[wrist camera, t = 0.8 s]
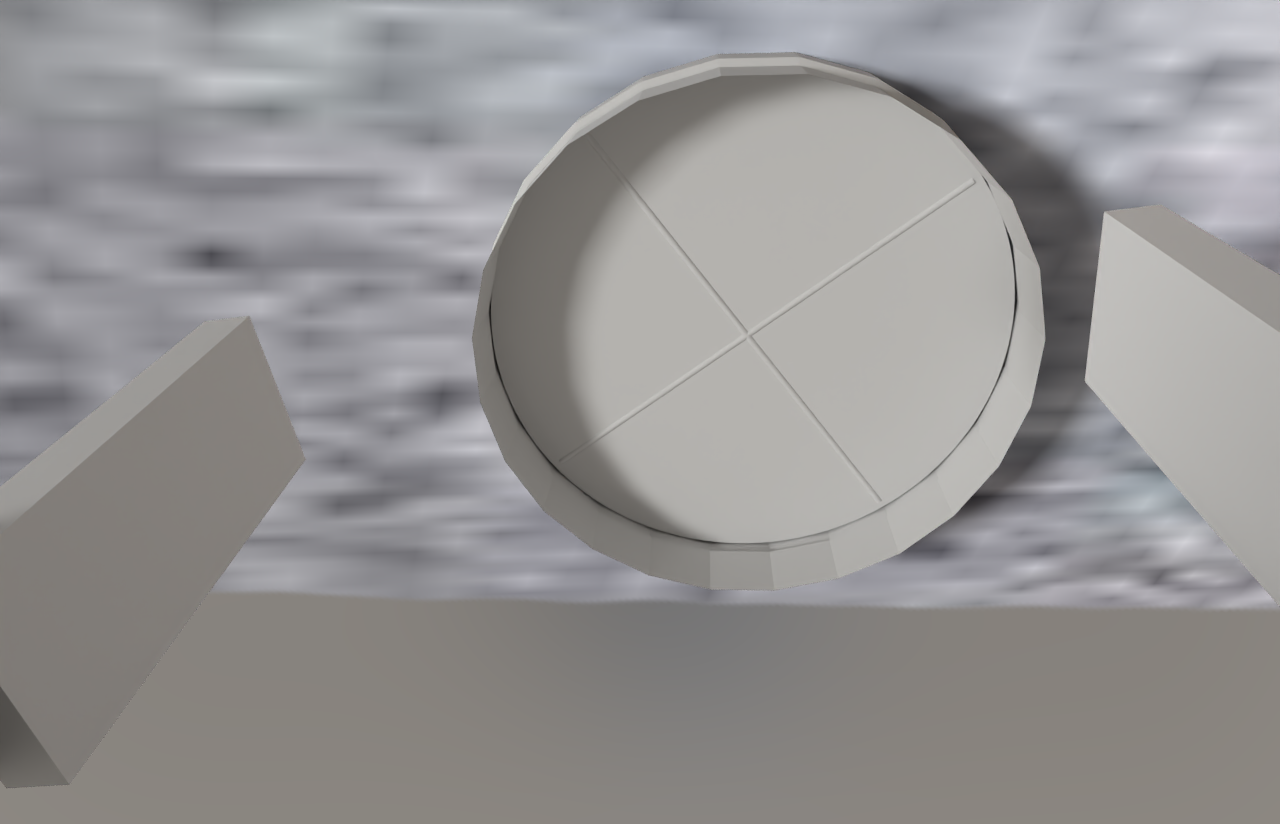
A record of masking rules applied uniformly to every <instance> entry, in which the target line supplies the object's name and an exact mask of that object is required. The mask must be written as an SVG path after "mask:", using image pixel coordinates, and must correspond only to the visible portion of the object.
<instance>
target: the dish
mask: <svg viewBox="0 0 1280 824" xmlns="http://www.w3.org/2000/svg"><path fill="white" fill-rule="evenodd" d="M1045 340H1046V338H1045V325H1044V313H1043V300H1042V287H1041V275H1040V267H1039V265H1038V262H1037V260H1036V257H1035V255H1034V252H1033V250H1032V247H1031V245H1030V242H1029V240H1028V238H1027V235H1026V233H1025V230H1024V228H1023V225H1022V223H1021V220H1020V218H1019V215H1018V213H1017V211H1016V208H1015V206H1014V203H1013V201H1012V199H1011V198H1010V197H1009V195H1008V194H1007V193H1006V192H1005V191H1004V190H1003V188H1002V187H1001V186H1000V185H999V184H998V183H997V182H996V180H995V179H994V178H993V177H992V176H991V175H990V173H989V172H988V171H987V170H986V169H985V168H984V166H983V165H982V164H981V163H980V162H979V161H978V159H977V158H976V157H975V156H974V155H973V154H972V152H971V151H970V150H969V149H968V148H967V147H966V145H965V144H964V143H963V142H962V141H961V140H960V139H959V137H958V136H957V135H956V134H955V133H954V132H953V130H952V129H951V128H950V127H949V126H948V125H947V123H946V122H945V121H944V120H943V119H941V118H940V117H938V116H937V115H935V114H934V113H933V112H931V111H930V110H928V109H926V108H925V107H923V106H922V105H920V104H918V103H917V102H915V101H914V100H912V99H910V98H909V97H907V96H906V95H904V94H902V93H901V92H899V91H898V90H896V89H894V88H893V87H891V86H890V85H888V84H886V83H885V82H883V81H882V80H880V79H879V78H877V77H875V76H874V75H872V74H871V73H869V72H865V71H862V70H858V69H854V68H851V67H847V66H843V65H840V64H836V63H833V62H829V61H825V60H822V59H818V58H814V57H811V56H807V55H803V54H800V53H796V52H785V53H741V54H716V55H713V56H710V57H706V58H703V59H700V60H696V61H693V62H690V63H687V64H683V65H680V66H677V67H673V68H670V69H667V70H664V71H660V72H657V73H654V74H650V75H647V76H644V77H642V78H641V79H639V80H638V81H636V82H634V83H633V84H631V85H630V86H628V87H626V88H625V89H623V90H622V91H620V92H619V93H617V94H615V95H614V96H612V97H611V98H609V99H608V100H606V101H604V102H603V103H601V104H600V105H598V106H597V107H595V108H593V109H592V110H590V111H589V112H587V113H586V114H584V115H582V116H581V117H580V118H579V119H578V120H577V121H576V122H575V123H574V124H573V125H572V126H571V127H570V128H569V130H568V131H567V132H566V133H565V134H564V135H563V136H562V138H561V139H560V140H559V141H558V142H557V143H556V144H555V146H554V147H553V148H552V149H551V150H550V151H549V152H548V153H547V155H546V156H545V157H544V158H543V159H542V160H541V161H540V163H539V164H538V165H537V166H536V167H535V168H534V169H533V170H532V172H531V173H530V174H529V175H528V176H527V177H526V178H525V180H524V181H523V183H522V185H521V187H520V189H519V191H518V194H517V196H516V198H515V200H514V202H513V204H512V206H511V208H510V210H509V212H508V215H507V217H506V219H505V221H504V223H503V225H502V227H501V229H500V231H499V233H498V235H497V238H496V240H495V242H494V244H493V250H492V253H491V255H490V257H489V259H488V261H487V263H486V266H485V268H484V270H483V275H482V281H481V287H480V293H479V299H478V305H477V311H476V317H475V323H474V330H473V336H472V341H473V349H474V357H475V364H476V372H477V380H478V388H479V395H480V403H481V405H482V408H483V410H484V412H485V415H486V417H487V419H488V422H489V424H490V427H491V429H492V431H493V434H494V436H495V438H496V441H497V443H498V445H499V448H500V450H501V452H502V455H503V457H504V460H505V462H506V463H507V464H508V466H509V467H510V468H511V469H512V471H513V472H514V473H515V475H516V476H517V477H518V478H519V480H520V481H521V482H522V484H523V485H524V486H525V487H526V489H527V490H528V491H529V493H530V494H531V495H532V497H533V498H534V499H535V500H536V502H537V503H538V504H539V506H540V507H541V508H542V509H543V511H545V512H546V513H547V514H548V515H550V516H551V517H552V518H554V519H555V520H556V521H557V522H559V523H560V524H561V525H563V526H564V527H565V528H566V529H568V530H569V531H570V532H572V533H573V534H574V535H575V536H577V537H578V538H579V539H580V540H582V541H583V542H584V543H586V544H587V545H588V546H589V547H591V548H592V549H594V550H596V551H598V552H600V553H602V554H605V555H607V556H609V557H611V558H613V559H615V560H617V561H620V562H622V563H624V564H626V565H628V566H630V567H632V568H634V569H637V570H639V571H641V572H643V573H645V574H647V575H650V576H654V577H658V578H663V579H667V580H671V581H676V582H680V583H684V584H689V585H693V586H697V587H702V588H706V589H710V590H770V591H775V590H780V589H785V588H791V587H796V586H802V585H807V584H812V583H818V582H823V581H829V580H834V579H839V578H841V577H844V576H846V575H849V574H851V573H853V572H856V571H858V570H861V569H863V568H866V567H868V566H871V565H873V564H876V563H878V562H880V561H883V560H885V559H888V558H890V557H893V556H895V555H898V554H900V553H901V552H903V551H904V550H905V549H907V548H908V547H910V546H911V545H913V544H914V543H916V542H917V541H918V540H920V539H921V538H923V537H924V536H926V535H927V534H929V533H930V532H931V531H933V530H934V529H936V528H937V527H939V526H940V525H942V524H943V523H944V522H946V521H947V520H949V519H950V518H952V517H953V516H954V515H955V514H956V513H957V512H958V511H959V510H960V509H961V507H962V506H963V505H964V504H965V503H966V502H967V501H968V500H969V499H970V498H971V497H972V495H973V494H974V493H975V492H976V491H977V490H978V489H979V488H980V487H981V486H982V484H983V483H984V482H985V481H986V480H987V479H988V478H989V477H990V476H991V475H992V473H993V472H994V471H995V470H996V469H997V468H998V467H999V465H1000V463H1001V462H1002V460H1003V458H1004V456H1005V454H1006V452H1007V450H1008V449H1009V447H1010V445H1011V443H1012V441H1013V439H1014V437H1015V435H1016V434H1017V432H1018V430H1019V428H1020V426H1021V424H1022V422H1023V421H1024V419H1025V417H1026V415H1027V413H1028V411H1029V409H1030V408H1031V404H1032V400H1033V395H1034V391H1035V386H1036V381H1037V377H1038V372H1039V367H1040V363H1041V358H1042V353H1043V349H1044V344H1045Z"/></svg>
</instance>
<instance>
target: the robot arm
mask: <svg viewBox="0 0 1280 824" xmlns="http://www.w3.org/2000/svg"><path fill="white" fill-rule="evenodd" d="M1085 382H1086V383H1087V384H1088V386H1089V387H1090V388H1091V389H1092V390H1093V391H1094V393H1095V394H1096V395H1097V396H1098V397H1099V398H1100V399H1101V401H1102V402H1103V403H1104V404H1105V405H1106V406H1107V408H1108V409H1109V410H1110V411H1111V412H1112V413H1113V415H1114V416H1115V417H1116V418H1117V419H1118V420H1119V421H1120V423H1121V424H1122V425H1123V426H1124V427H1125V428H1126V430H1127V431H1128V432H1129V433H1130V434H1131V435H1132V437H1133V438H1134V439H1135V440H1136V441H1137V442H1138V443H1139V445H1140V446H1141V447H1142V448H1143V449H1144V450H1145V452H1146V453H1147V454H1148V455H1149V456H1150V457H1151V458H1152V460H1153V461H1154V462H1155V463H1156V464H1157V465H1158V467H1159V468H1160V469H1161V470H1162V471H1163V472H1164V474H1165V475H1166V476H1167V477H1168V478H1169V479H1170V480H1171V482H1172V483H1173V484H1174V485H1175V486H1176V487H1177V489H1178V490H1179V491H1180V492H1181V493H1182V494H1183V495H1184V497H1185V498H1186V499H1187V500H1188V501H1189V502H1190V504H1191V505H1192V506H1193V507H1194V508H1195V509H1196V511H1197V512H1198V513H1199V514H1200V515H1201V516H1202V517H1203V519H1204V520H1205V521H1206V522H1207V523H1208V524H1209V526H1210V527H1211V528H1212V529H1213V530H1214V531H1215V532H1216V534H1217V535H1218V536H1219V537H1220V538H1221V539H1222V541H1223V542H1224V543H1225V544H1226V545H1227V546H1228V548H1229V549H1230V550H1231V551H1232V552H1233V553H1234V554H1235V556H1236V557H1237V558H1238V559H1239V560H1240V561H1241V563H1242V564H1243V565H1244V566H1245V567H1246V568H1247V569H1248V571H1249V572H1250V573H1251V574H1252V575H1253V576H1254V578H1255V579H1256V580H1257V581H1258V582H1259V583H1260V585H1261V586H1262V587H1263V588H1264V589H1265V590H1266V591H1267V593H1268V594H1269V595H1270V596H1271V597H1272V598H1273V600H1274V601H1275V602H1276V603H1277V604H1278V605H1279V606H1280V275H1279V274H1277V273H1275V272H1274V271H1272V270H1270V269H1268V268H1267V267H1265V266H1263V265H1262V264H1260V263H1258V262H1257V261H1255V260H1253V259H1252V258H1250V257H1248V256H1247V255H1245V254H1243V253H1241V252H1240V251H1238V250H1236V249H1235V248H1233V247H1231V246H1230V245H1228V244H1226V243H1225V242H1223V241H1221V240H1219V239H1218V238H1216V237H1214V236H1213V235H1211V234H1209V233H1208V232H1206V231H1204V230H1203V229H1201V228H1199V227H1198V226H1196V225H1194V224H1192V223H1191V222H1189V221H1187V220H1186V219H1184V218H1182V217H1181V216H1179V215H1177V214H1176V213H1174V212H1172V211H1170V210H1169V209H1167V208H1165V207H1164V206H1162V205H1154V206H1145V207H1137V208H1129V209H1121V210H1113V211H1104V217H1103V226H1102V235H1101V243H1100V252H1099V261H1098V269H1097V278H1096V287H1095V296H1094V304H1093V313H1092V322H1091V330H1090V339H1089V348H1088V357H1087V365H1086V374H1085ZM305 460H306V459H305V456H304V454H303V451H302V449H301V446H300V444H299V441H298V439H297V436H296V433H295V431H294V428H293V426H292V423H291V421H290V418H289V416H288V413H287V411H286V408H285V406H284V403H283V400H282V398H281V395H280V393H279V390H278V388H277V385H276V383H275V380H274V378H273V375H272V372H271V370H270V367H269V365H268V362H267V360H266V357H265V355H264V352H263V350H262V347H261V344H260V342H259V339H258V337H257V334H256V332H255V329H254V327H253V324H252V322H251V319H250V317H249V316H244V317H236V318H228V319H219V320H211V321H205V322H204V323H202V324H201V325H200V326H199V327H197V328H196V329H195V330H194V331H192V332H191V333H190V334H189V335H187V336H186V337H185V338H184V339H183V340H181V341H180V342H179V343H178V344H176V345H175V346H174V347H173V348H171V349H170V350H169V351H168V352H166V353H165V354H164V355H163V356H162V357H160V358H159V359H158V360H157V361H155V362H154V363H153V364H152V365H150V366H149V367H148V368H147V369H145V370H144V371H143V372H142V373H140V374H139V375H138V376H137V377H136V378H134V379H133V380H132V381H131V382H129V383H128V384H127V385H126V386H124V387H123V388H122V389H121V390H119V391H118V392H117V393H116V394H115V395H113V396H112V397H111V398H110V399H108V400H107V401H106V402H105V403H103V404H102V405H101V406H100V407H98V408H97V409H96V410H95V411H93V412H92V413H91V414H90V415H89V416H87V417H86V418H85V419H84V420H82V421H81V422H80V423H79V424H77V425H76V426H75V427H74V428H72V429H71V430H70V431H69V432H67V433H66V434H65V435H64V436H63V437H61V438H60V439H59V440H58V441H56V442H55V443H54V444H53V445H51V446H50V447H49V448H48V449H46V450H45V451H44V452H43V453H42V454H40V455H39V456H38V457H37V458H35V459H34V460H33V461H32V462H30V463H29V464H28V465H27V466H25V467H24V468H23V469H22V470H20V471H19V472H18V473H17V474H16V475H14V476H13V477H12V478H11V479H9V480H8V481H7V482H6V483H4V484H3V485H2V486H1V487H0V781H1V782H2V783H3V784H4V785H5V787H6V788H17V787H35V786H54V785H69V784H70V783H71V782H72V780H73V779H74V778H75V776H76V775H77V773H78V772H79V771H80V769H81V768H82V767H83V765H84V764H85V762H86V761H87V760H88V758H89V757H90V755H91V754H92V753H93V751H94V750H95V749H96V747H97V746H98V745H99V743H100V742H101V740H102V739H103V738H104V736H105V735H106V733H107V732H108V731H109V729H110V728H111V727H112V725H113V724H114V723H115V721H116V720H117V718H118V717H119V716H120V714H121V713H122V711H123V710H124V709H125V707H126V706H127V705H128V703H129V702H130V700H131V699H132V698H133V696H134V695H135V694H136V692H137V691H138V689H139V688H140V687H141V685H142V684H143V683H144V681H145V680H146V678H147V677H148V676H149V674H150V673H151V672H152V670H153V669H154V667H155V666H156V665H157V663H158V662H159V661H160V659H161V658H162V656H163V655H164V654H165V652H166V651H167V650H168V648H169V647H170V645H171V644H172V642H173V641H174V640H175V639H176V637H177V636H178V634H179V633H180V632H181V630H182V629H183V627H184V626H185V625H186V623H187V622H188V621H189V619H190V618H191V616H192V615H193V614H194V612H195V611H196V610H197V608H198V607H199V605H200V604H201V602H202V601H203V600H204V599H205V597H206V596H207V595H208V593H209V592H210V590H211V589H212V588H213V586H214V585H215V584H216V582H217V581H218V579H219V578H220V577H221V575H222V574H223V573H224V571H225V570H226V568H227V567H228V566H229V564H230V563H231V562H232V560H233V559H234V557H235V556H236V555H237V553H238V552H239V551H240V549H241V548H242V546H243V545H244V544H245V542H246V541H247V540H248V538H249V537H250V535H251V534H252V533H253V531H254V530H255V528H256V527H257V526H258V524H259V523H260V522H261V520H262V519H263V517H264V516H265V515H266V513H267V512H268V511H269V509H270V508H271V506H272V505H273V504H274V502H275V501H276V500H277V498H278V497H279V495H280V494H281V493H282V491H283V490H284V489H285V487H286V486H287V484H288V483H289V482H290V480H291V479H292V478H293V476H294V475H295V473H296V472H297V471H298V469H299V468H300V467H301V465H302V464H303V462H304V461H305Z"/></svg>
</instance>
